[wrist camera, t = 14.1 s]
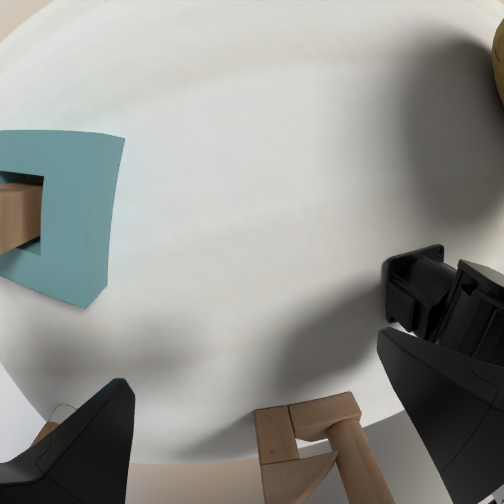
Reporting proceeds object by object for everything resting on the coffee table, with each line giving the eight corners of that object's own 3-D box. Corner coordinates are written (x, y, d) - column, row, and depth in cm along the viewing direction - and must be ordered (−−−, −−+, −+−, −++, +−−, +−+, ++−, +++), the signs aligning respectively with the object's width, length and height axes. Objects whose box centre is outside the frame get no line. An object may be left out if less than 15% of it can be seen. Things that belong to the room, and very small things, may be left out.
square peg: (62, 184, 17) (-31, 206, 7) (59, 226, 18) (-26, 270, 8) (30, 179, 16) (-56, 198, 7) (28, 219, 17) (-53, 254, 8)
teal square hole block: (125, 138, 16) (100, 133, 13) (107, 285, 20) (85, 308, 16) (6, 132, 14) (-22, 132, 11) (-1, 249, 18) (-26, 262, 14)
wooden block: (253, 408, 25) (272, 566, 8) (351, 389, 25) (414, 525, 8) (256, 426, 26) (275, 567, 9) (347, 408, 26) (399, 533, 9)
